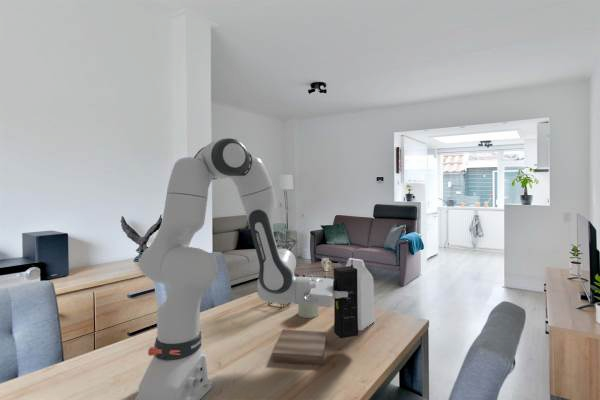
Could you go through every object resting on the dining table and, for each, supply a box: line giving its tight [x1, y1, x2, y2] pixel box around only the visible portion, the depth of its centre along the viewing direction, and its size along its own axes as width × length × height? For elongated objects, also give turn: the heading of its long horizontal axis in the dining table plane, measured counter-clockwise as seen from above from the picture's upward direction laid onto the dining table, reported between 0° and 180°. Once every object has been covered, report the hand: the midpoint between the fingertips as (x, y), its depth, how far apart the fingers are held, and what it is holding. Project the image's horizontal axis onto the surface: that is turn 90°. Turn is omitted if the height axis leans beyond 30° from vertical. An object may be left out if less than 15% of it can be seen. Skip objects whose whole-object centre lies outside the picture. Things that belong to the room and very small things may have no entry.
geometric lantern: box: [267, 230, 299, 309], centre depth 163 cm, size 16×16×35 cm
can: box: [297, 304, 320, 319], centre depth 150 cm, size 9×9×12 cm
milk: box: [345, 257, 376, 331], centre depth 141 cm, size 12×12×26 cm
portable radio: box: [333, 260, 359, 340], centre depth 116 cm, size 8×6×25 cm
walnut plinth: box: [272, 329, 327, 366], centre depth 117 cm, size 18×16×3 cm
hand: (347, 292), depth 113 cm, fingers closed on portable radio, 2 cm apart
